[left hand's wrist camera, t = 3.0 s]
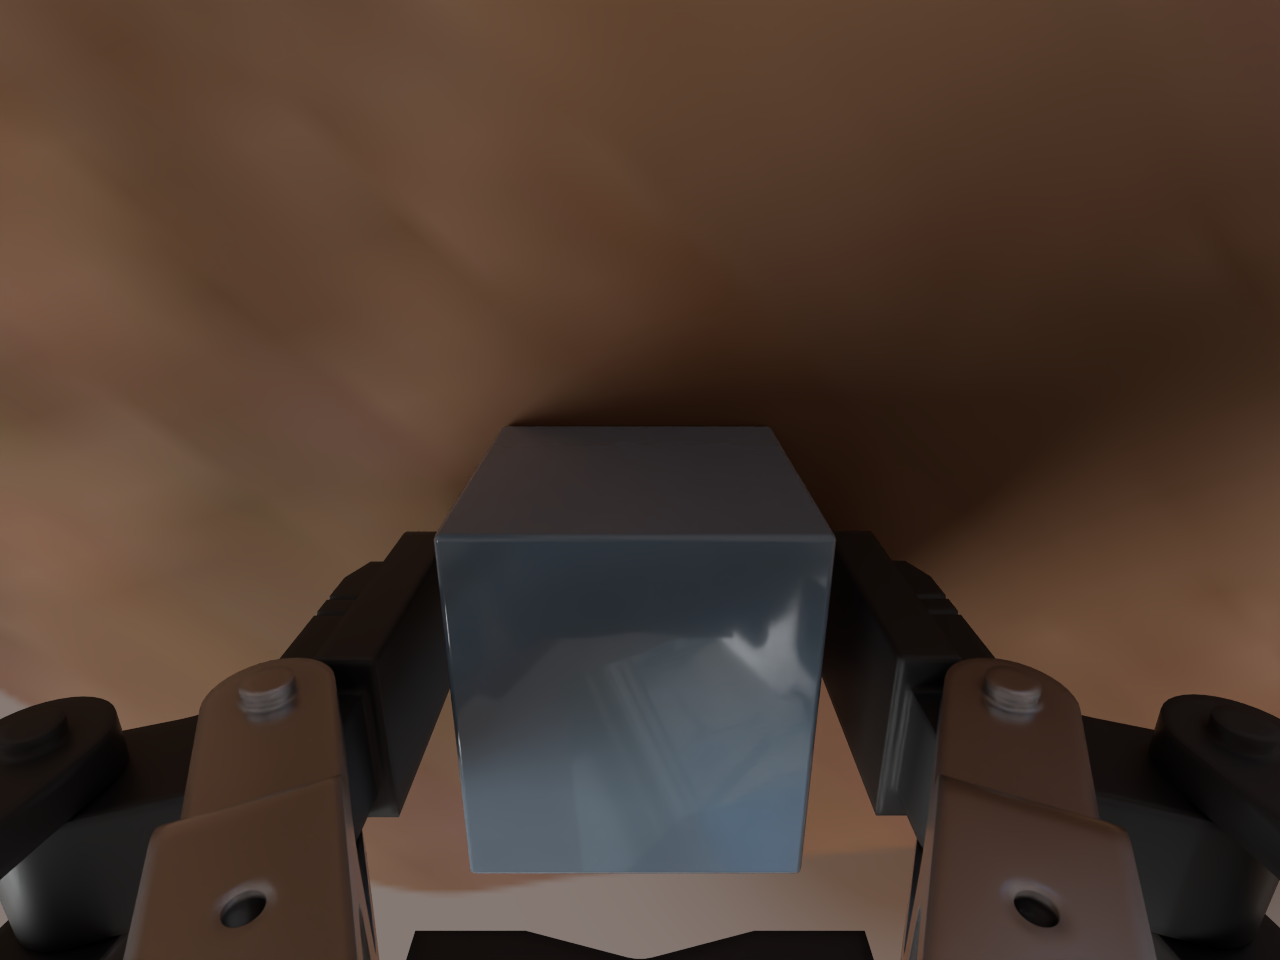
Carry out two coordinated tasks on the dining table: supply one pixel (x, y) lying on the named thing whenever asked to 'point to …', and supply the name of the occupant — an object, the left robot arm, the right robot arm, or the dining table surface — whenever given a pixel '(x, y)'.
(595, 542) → the block
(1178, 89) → the dining table surface
